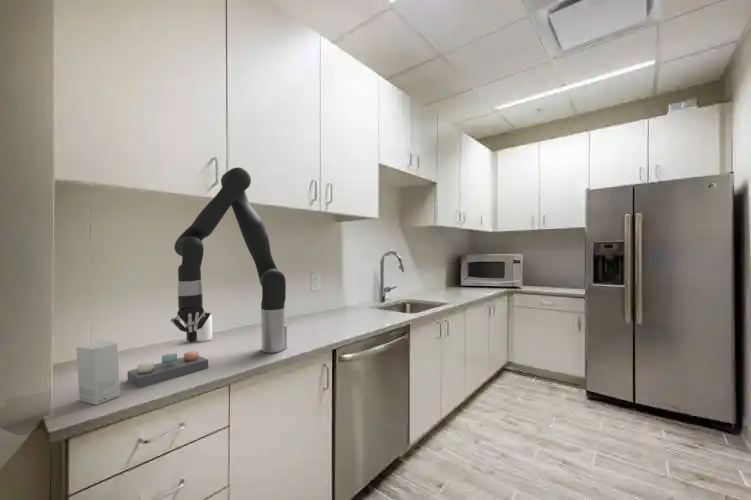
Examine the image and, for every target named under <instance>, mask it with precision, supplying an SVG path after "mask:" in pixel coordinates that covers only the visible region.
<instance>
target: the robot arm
mask: <svg viewBox="0 0 751 500" xmlns="http://www.w3.org/2000/svg"><path fill="white" fill-rule="evenodd" d="M251 182H252V177H251V175H250V173H249V172H248V171H247V170H246V169H245V168H243V167H238V166H237V167H233V168H231V169H229V170H227V171H226V172H225V173H223V174H222V177H221V178H220V185H221V188H220V189H219V191H218V192H217V193H216V195H215V196H214V197H213V198H212V199H211V201H209V202H208V203H207V204H206V205H205V207H203V208H202V210H201V211H200V212H199V214H198V215H197V216H196V218H195V219H194V221H193V222H192V224H191V225H190V226H189V227H188V228H187V229H185V230H184V231H183V232H182V234H180V235H179V236H178V238H177V239H176V241H175V242H174V245H173V246H174V251H175V253H176V254H177V255H178V256H180V257H182V258H181V264H180V265H179V266H178V269H177V274H178V276H177V278H178V280H177V281H178V284H177V301H178V302H177V305H178V306H177V307H178V311H177V315H176V316H175V317H173V318H171V319H170V322H171V323H172V324H173V325H174V326H175V327H176V328H177V329H178V330H179V331H181V332H184V333H186V341H187V342H188V343H189V344H193V343H196V341H197V330H198V329H201V328H202V327H203V325H204V324H205V322H206V321H207V319H208V318H209V316H210V313H211V312H206V311H205V309H204V307H203V285H202V284H203V283H202V271H201V270H202V269H201V267H202V264H203V257H204V244H203V242H202V241H203V240H204V239H205V238H207V237H209V236H211V234H212V233H213V232H214V231H215V229H216V227H218V225H219V223H220V222H221V220H222V219H223V217H224V215H225V214H226V213H227V211H228V210H229V209H230V207H231V208H232V211H233V213H234V215H235V220H236V222H237V224H238V227H239V230H240V232H241V235H242V239H243V241H244V243H245V245H246V247H247V249H248V251H249V254H250V255H251V257H252V259H253V262H254V264H255V268H256V271H257V275H258V279H259V284H260V286H261V291H262V292H261V293H262V294H261V303H260V307H261V309H260V313H261V314H260V315H261V319H260V320H261V327H260V328H261V351H262V352H263V353H267V354H269V353H271V354H272V353H273V354H274V353H279V352H282V351H284V350H285V349H287V348H288V337H287V336H288V330H287V329H288V327H287V325H286V324H285V323H286V322H285V317H286V316H285V314H286V313H285V303H286V299H287V298H286V291H287V290H286V288H287V287H286V285H287V284H286V283H287V282H286V281H287V280H286V277H285V275H284V273H283V272H282V271H280V270H279V269H278V267H277V265H276V264H275V260H274V259H273V256H272V252H271V245H270V240H269V239H270V238H269V236H268V232H267V229H266V227H265V224H264V222H263V220H262V219H261V217H260V215H259V214H258V213H257V212H256V211H255V209H254V208H253V206H252V205H251V203H250V202H249V199H248V196H247V193H246V190H247V189H248V188H249V187H250V186H251ZM200 317H201V318H200ZM199 318H200V320H199ZM198 320H199V321H198ZM181 321H182V322H183V323H184V325H183V323H181Z"/></svg>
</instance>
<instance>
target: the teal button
mask: <svg viewBox="0 0 751 500" xmlns="http://www.w3.org/2000/svg"><path fill="white" fill-rule="evenodd" d="M177 358H178V354H177V353H176V352H175V353H173V352H172V353H167V354H163V355H161V363H165V364H166V363H173V362H176V361H177Z"/></svg>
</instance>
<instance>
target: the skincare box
mask: <svg viewBox="0 0 751 500" xmlns="http://www.w3.org/2000/svg"><path fill="white" fill-rule="evenodd" d="M118 347H119V346H118V343H117V342H111V341H104V340H98V341H95V342H90V343H87V344H84V345H83V344H82V345H78V346H76V350H75V351H76V365H77V379H78V383H77V384H78V397H79V402H82V403H87V404H91V405H95V406H98V405H101V404H104V403H106V402H109V401H111V400H114V399H116V398H119V397H120V396H121V389H120V386H121V384H120V371H119V369H120V368H119V367H120V366H119V354H118V353H119V352H118Z"/></svg>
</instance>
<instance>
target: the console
mask: <svg viewBox="0 0 751 500" xmlns="http://www.w3.org/2000/svg"><path fill="white" fill-rule="evenodd" d="M205 369H209V359H208V358H206V357H203V356H201V355H198V359H196V360H193V361H185V360H184V356H183V357H182V356H181V357H177V361H176V362H173V363H166V364H165V363H162V362H157V363H154V370H153V371H151V372H147V373H138V369H137V368H135V369H131V370H128V371H127V382H130V383H131V384H132V385H134V386H135V387H136V388H138V389H141V388H145V387H148V386H151V385H155V384H158V383H161V382H165V381H168V379H169V380H172V379H175V377H176V378H179V377H182V376H186V375H189V374H192V373H196V372H199V371H203V370H205ZM171 378H172V379H171Z"/></svg>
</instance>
